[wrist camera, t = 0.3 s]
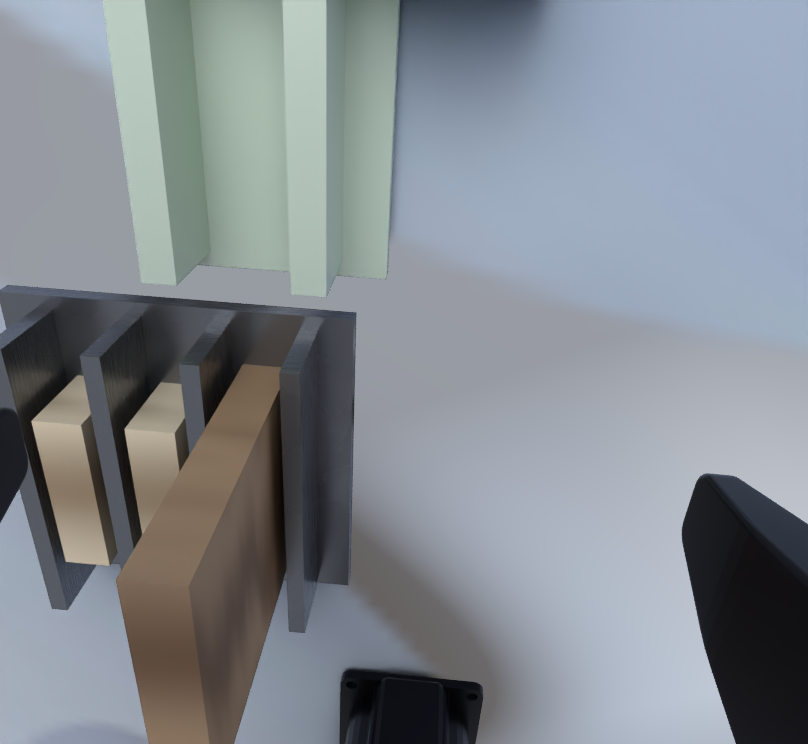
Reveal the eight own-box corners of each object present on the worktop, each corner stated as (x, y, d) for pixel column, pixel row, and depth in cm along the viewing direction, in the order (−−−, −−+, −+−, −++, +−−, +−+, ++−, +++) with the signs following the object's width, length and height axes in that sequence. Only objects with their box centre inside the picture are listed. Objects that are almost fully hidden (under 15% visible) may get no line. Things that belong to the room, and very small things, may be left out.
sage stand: (387, 272, 22) (376, 317, 19) (145, 254, 23) (94, 295, 19) (407, -147, 17) (395, -180, 14) (90, -164, 17) (8, -201, 14)
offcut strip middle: (218, 517, 27) (192, 573, 24) (178, 514, 27) (148, 569, 24) (205, 386, 24) (174, 433, 22) (160, 382, 24) (124, 429, 22)
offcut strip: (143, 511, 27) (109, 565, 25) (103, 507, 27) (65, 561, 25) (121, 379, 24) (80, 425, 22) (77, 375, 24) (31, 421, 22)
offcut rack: (350, 574, 29) (336, 645, 26) (70, 548, 29) (23, 615, 26) (356, 312, 23) (340, 362, 20) (7, 285, 23) (-63, 329, 20)
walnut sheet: (294, 543, 27) (217, 800, 19) (254, 540, 27) (159, 793, 19) (288, 368, 24) (188, 587, 15) (243, 364, 24) (115, 580, 15)
